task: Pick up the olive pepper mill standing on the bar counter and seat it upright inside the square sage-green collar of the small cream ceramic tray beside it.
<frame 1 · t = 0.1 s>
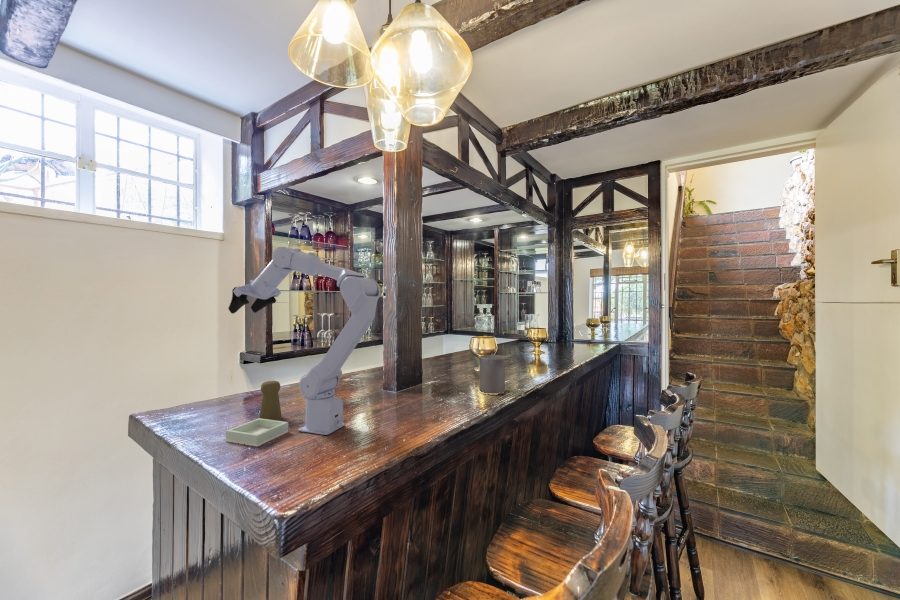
hand: (242, 310, 106), 32 cm above the bar counter, tool tilted 50°, fingers open, 7 cm apart
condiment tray: (258, 436, 91), on the bar counter
pillar candle: (492, 392, 136), on the bar counter
olive pepper mill: (270, 419, 105), on the bar counter
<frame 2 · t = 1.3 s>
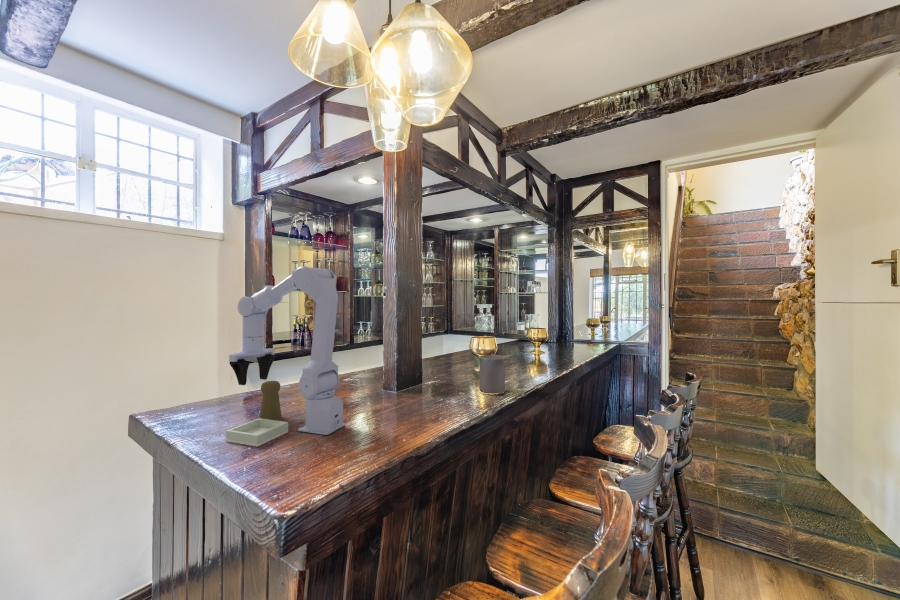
hand: (253, 381, 107), 10 cm above the bar counter, tool pointing down, fingers open, 7 cm apart
nothing on the bar counter moved.
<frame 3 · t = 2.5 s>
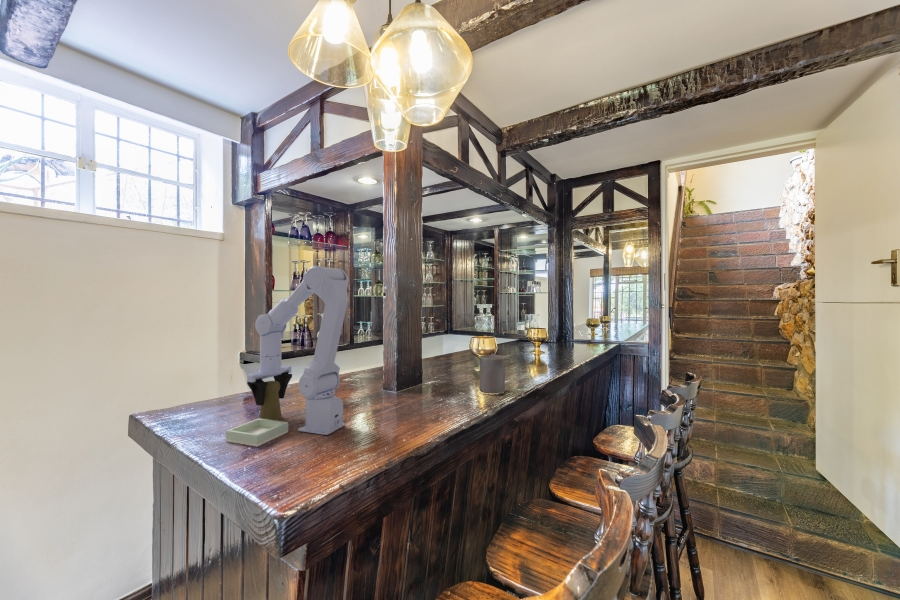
hand: (270, 401, 105), 5 cm above the bar counter, tool pointing down, fingers open, 7 cm apart
nothing on the bar counter moved.
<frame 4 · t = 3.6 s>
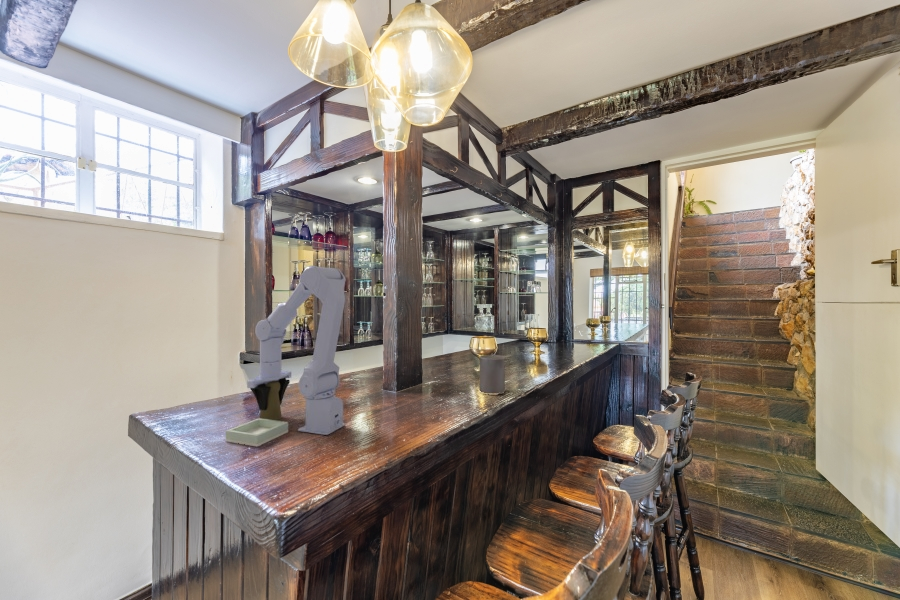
hand: (270, 406, 105), 3 cm above the bar counter, tool pointing down, fingers closed on olive pepper mill, 5 cm apart
olive pepper mill: (270, 419, 105), on the bar counter, touching gripper
everything else where it was.
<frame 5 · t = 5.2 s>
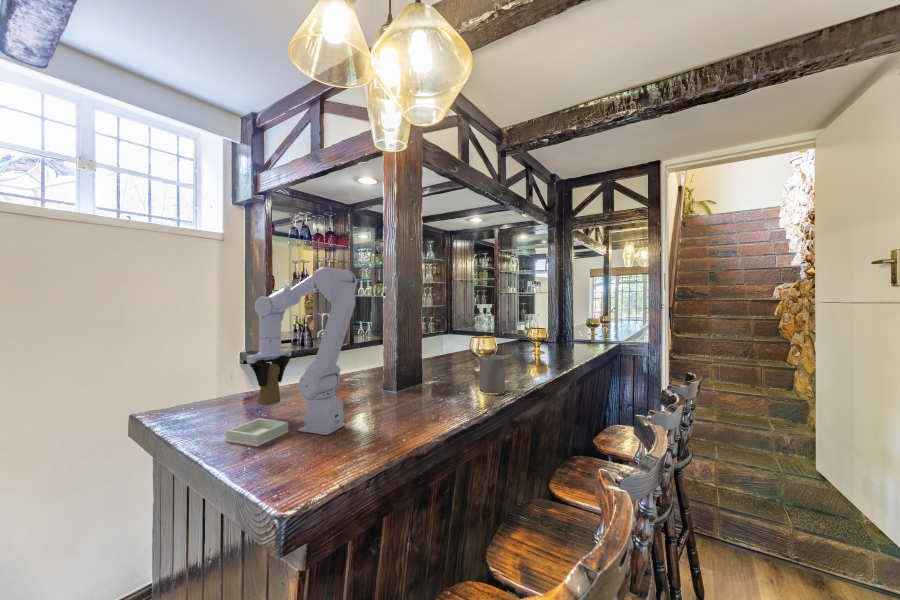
hand: (270, 383, 105), 10 cm above the bar counter, tool pointing down, fingers closed on olive pepper mill, 5 cm apart
olive pepper mill: (269, 402, 105), point 5 cm above the bar counter, touching gripper
everything else where it was.
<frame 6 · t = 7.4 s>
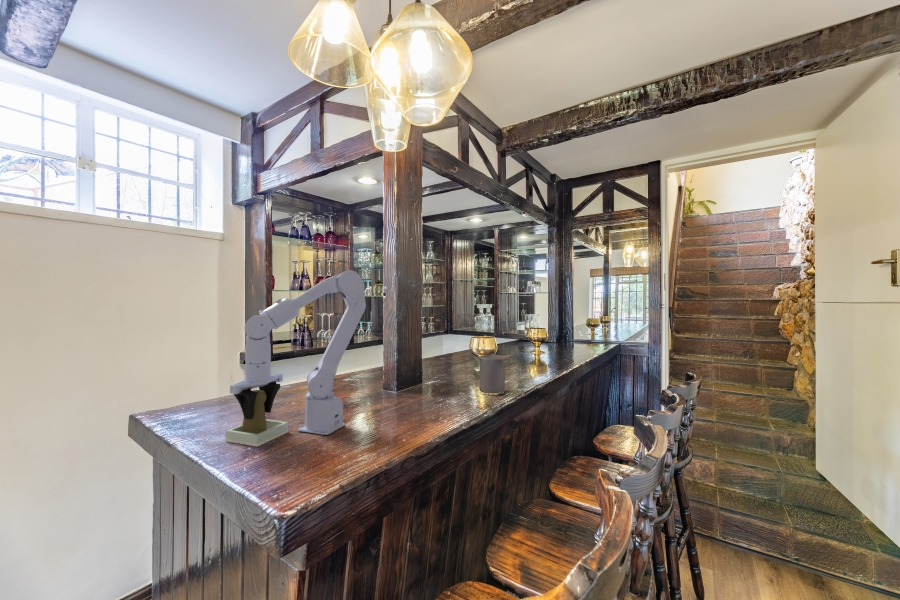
hand: (257, 415, 91), 5 cm above the bar counter, tool pointing down, fingers closed on olive pepper mill, 5 cm apart
olive pepper mill: (254, 434, 91), resting on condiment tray, touching gripper
everything else where it was.
when the fingers open (5 cm above the bar counter, at t = 8.4 s): olive pepper mill stays where it is, resting on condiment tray.
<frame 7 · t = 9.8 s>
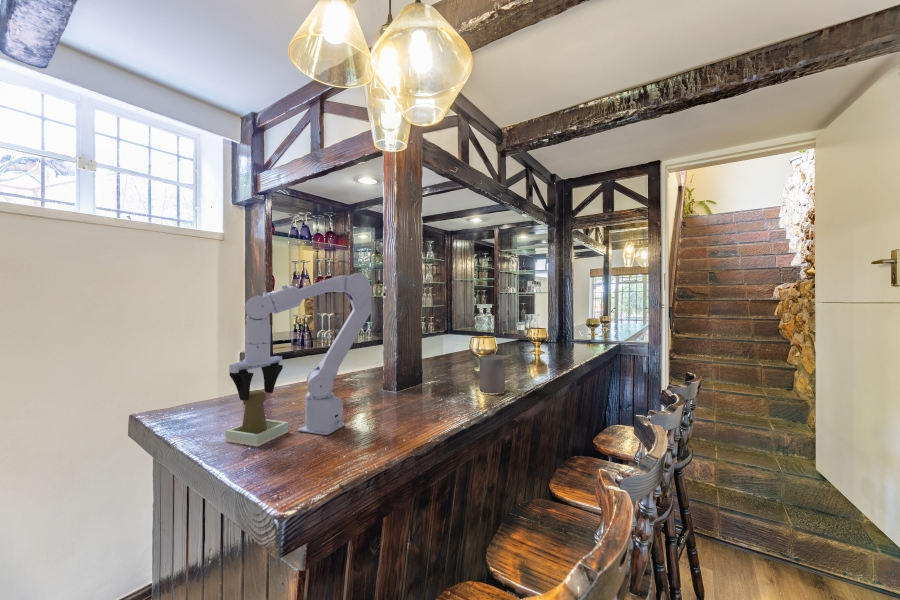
hand: (257, 396, 91), 10 cm above the bar counter, tool pointing down, fingers open, 7 cm apart
olive pepper mill: (254, 434, 91), resting on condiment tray
everything else where it was.
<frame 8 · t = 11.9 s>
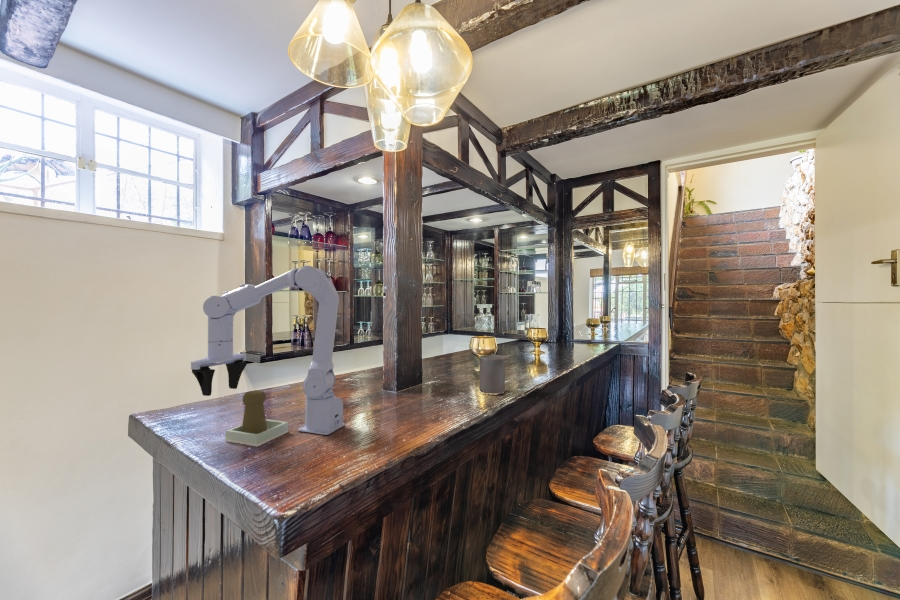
hand: (220, 391, 95), 10 cm above the bar counter, tool pointing down, fingers open, 7 cm apart
nothing on the bar counter moved.
at the end: olive pepper mill 1.0 cm off-centre on the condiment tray, point 0.4 cm above the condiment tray's base; olive pepper mill tilted 0°; the gripper is holding nothing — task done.
